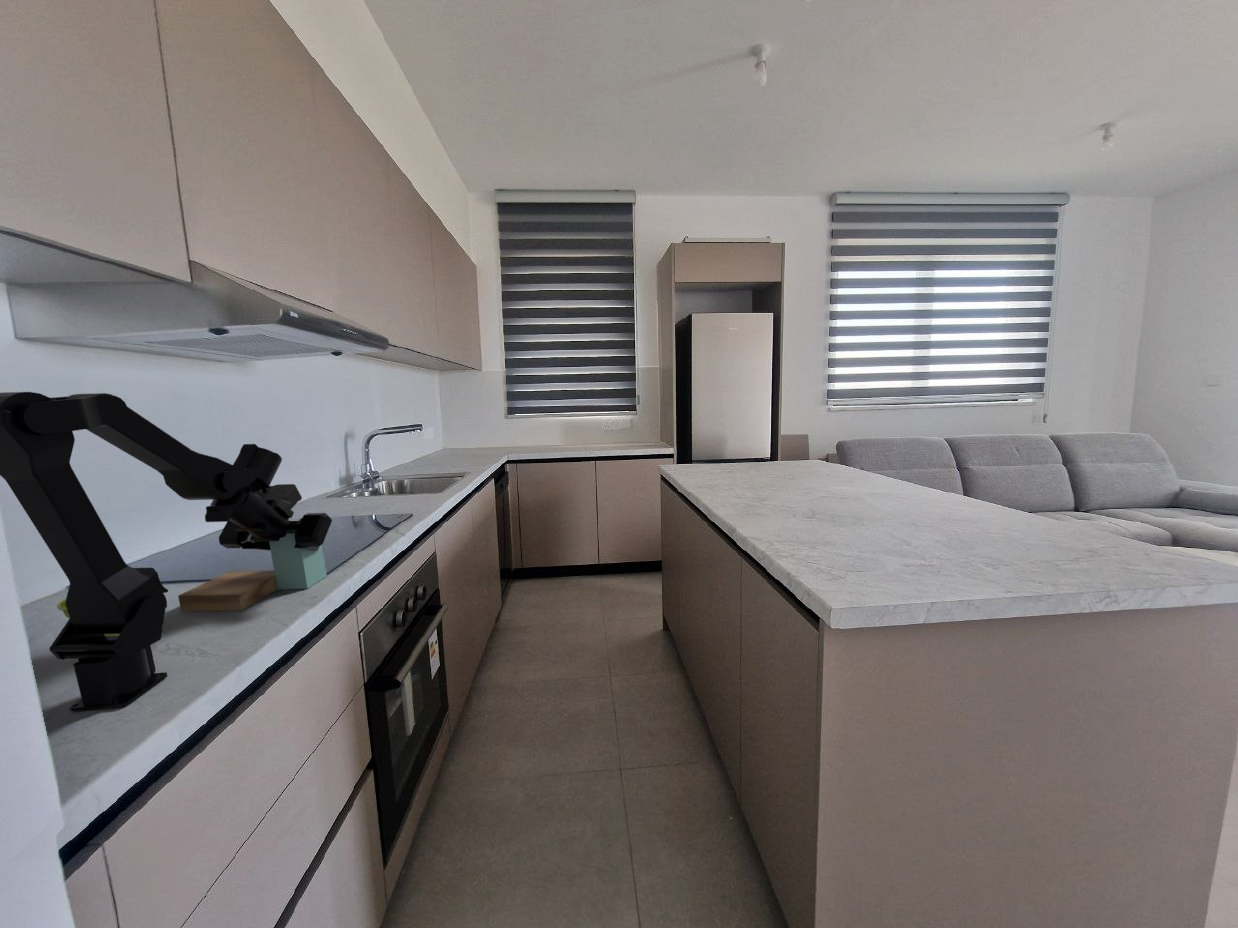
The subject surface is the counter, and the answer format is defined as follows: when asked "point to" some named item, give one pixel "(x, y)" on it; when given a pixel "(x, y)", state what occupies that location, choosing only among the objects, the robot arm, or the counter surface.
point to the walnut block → (229, 591)
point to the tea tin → (296, 564)
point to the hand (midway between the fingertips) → (302, 549)
